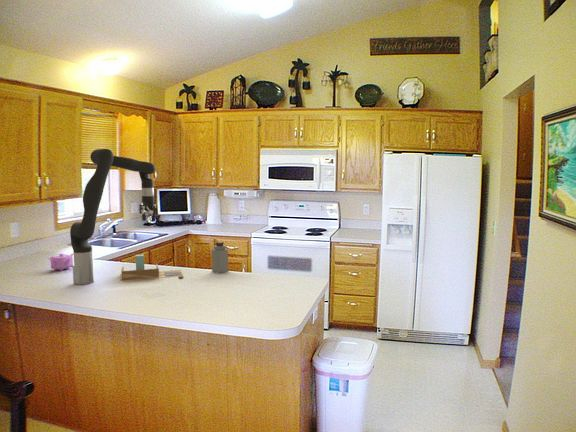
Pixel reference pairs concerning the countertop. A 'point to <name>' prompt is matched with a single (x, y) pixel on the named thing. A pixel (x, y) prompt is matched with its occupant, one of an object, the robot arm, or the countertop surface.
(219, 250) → the perfume bottle
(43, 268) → the countertop surface
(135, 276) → the stand
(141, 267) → the block
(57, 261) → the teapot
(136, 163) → the robot arm
